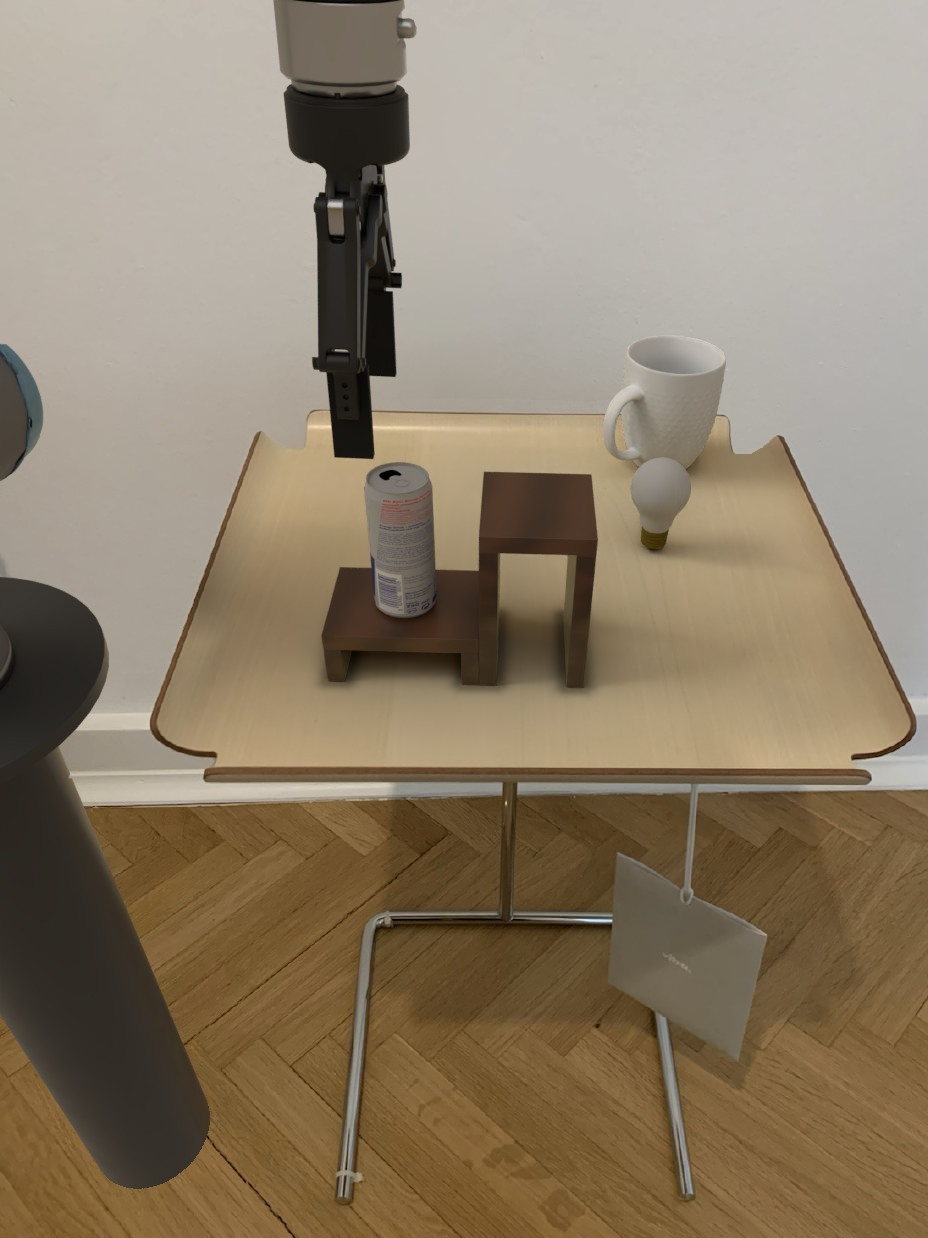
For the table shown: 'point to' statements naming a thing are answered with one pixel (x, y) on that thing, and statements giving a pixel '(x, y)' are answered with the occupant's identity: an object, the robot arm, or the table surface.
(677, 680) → the table surface
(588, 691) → the table surface
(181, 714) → the table surface
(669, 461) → the light bulb
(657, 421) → the mug
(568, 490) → the shelf
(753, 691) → the table surface
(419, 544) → the energy drink
